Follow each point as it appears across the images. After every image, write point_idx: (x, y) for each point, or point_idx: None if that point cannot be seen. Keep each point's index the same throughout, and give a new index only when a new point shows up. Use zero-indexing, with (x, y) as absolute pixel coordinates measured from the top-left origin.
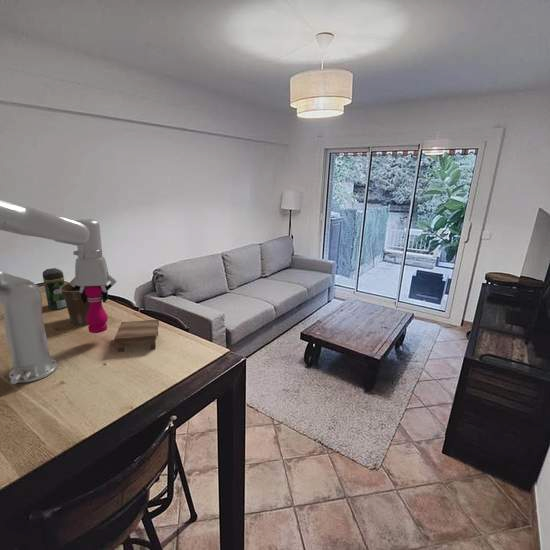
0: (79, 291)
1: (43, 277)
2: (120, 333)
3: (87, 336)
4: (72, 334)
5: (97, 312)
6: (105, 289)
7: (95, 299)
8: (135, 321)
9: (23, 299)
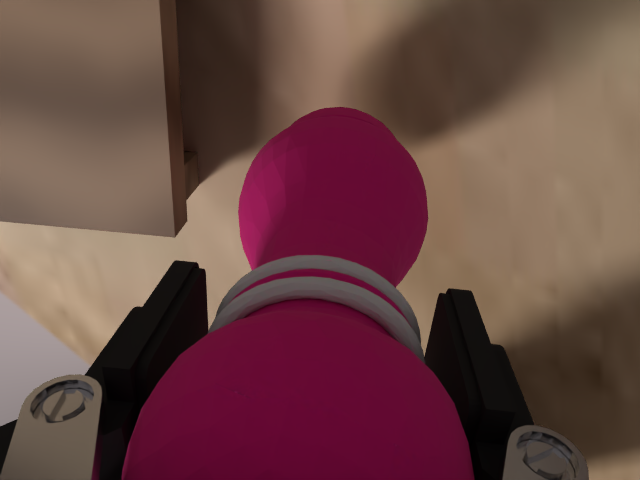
0: (577, 461)
1: None
2: (124, 4)
3: (424, 241)
4: (512, 290)
5: (299, 186)
6: (34, 424)
7: (284, 281)
8: (69, 221)
9: None
